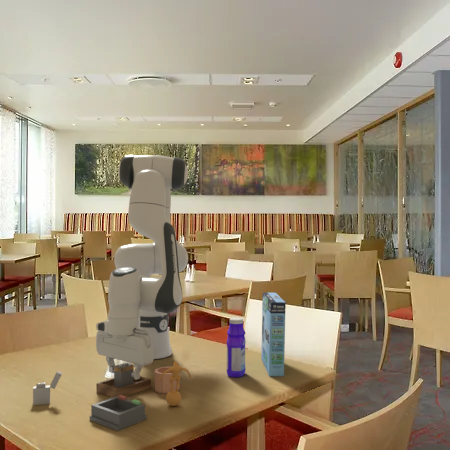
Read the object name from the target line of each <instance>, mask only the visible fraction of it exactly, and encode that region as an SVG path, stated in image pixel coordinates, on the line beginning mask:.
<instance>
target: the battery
mask: <svg viewBox="0 0 450 450" xmlns="http://www.w3.org/2000/svg"><path fill="white" fill-rule="evenodd" d="M115 365H116V366H114V373H113V378H114V387H116V388H121V387H124V386H127V385H130V384H133V383H134V379H132V372H134V370H135V367H134V364H133V363H130V362H126V361H125V362H123V363H120V364H115Z"/></svg>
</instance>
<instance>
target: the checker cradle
mask: <svg viewBox="0 0 450 450" xmlns="http://www.w3.org/2000/svg"><path fill="white" fill-rule="evenodd" d="M127 397H128V396H127ZM127 397H126V396H123V395H120V396H116V397H113V398H112V397H110V398H107V399H105V400H102V401H98V402H96V403H93V404H91V405H90V407H91V415H89V421H91V422H93V423H96V424H99V425H101V426H104V427H106V428H109V429H112V430H114V431H116V432H118V431H121V430H124V429H125V428H128V427H130V426H133V425H135V424H137V423H140V422H143V421H145V420H147V414H146V404H143V403H141V402H142V401H140V400H138V399H133V400H130V399H127Z"/></svg>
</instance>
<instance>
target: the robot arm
mask: <svg viewBox="0 0 450 450" xmlns="http://www.w3.org/2000/svg"><path fill="white" fill-rule="evenodd" d="M188 170H189V169H188V166H187V163H186V161H185V160H184V159H183V158H180V157H176V156H174V157H171V156H166V155H159V154H155V155H154V154H153V155H150V154H138V155H136V154H127V155H124V156H123V157H122V158H121V160H120V163H119V165H118V177H119V181H120V183H121V184H122V185H123V186H125V187H126V188H128V189H129V190H130V195H129V196H130V197H129V201H128V202H129V203H128V216H127V217H128V222H129V224H130V226H131V228H132V229H133V230H134V231H135V232H136V233H138V234H139V235H141V236H143V237H145V238H147V239H150V240H151V241H153V242H151V243H149V242H148V243H129V244H125V245H121V246H119V247H118V248H117V250H116V251H115V253H114V257H113V262H114V266H115V268H116V269H114V270H112V271H111V273H110V275H109V281H108V290H107V291H108V292H107V301H108V306H109V309H108V313H107V314H108V315H107V319H106V320H103V321H99V322H97V323H96V325H95V328H96V330H97V332H96V336H95V337H96V338H95V342H96V343H95V348H96V349H95V350H96V352H97V354H98V355H99V356H103V357H104V356H105V361H106V364H107V365H108V371H109V373H112V374H114V366H116V365H117V364H116V363H115V360H119V361H123V362H125V363H126V362H128V363H130V364H134V372H132V379H135V380H137V379H139V378H140V376H141V372H142V369H143V367H146V366H149V365H151V364H152V363H153V361H154V360H158V359H159V360H160V359H164V358H167V357H170V356H171V355H172V354H173V352H172V346H171V341H170V333H169V322H170V321H169V320H170V316H169V315H170V314H172V313H173V312H175V311H176V310H177V309H178V308H179V307H180V306H181V304H182V302H183V287H182V283H181V278H180V273H181V272H183V271H184V270H185V269H186V267H187V265H188V263H189V254H188V251H187V249H186V248H185V246H183V245H182V244H181V243H180V242H179V241H178V240H177V237H176V231H175V228H174V226H173V224H171V205H172V203H171V202H172V201H171V199H172V198H171V197H172V196H171V195H172V193H171V190H172V192H173V193H174V192H176V191H178V190H182V188H184V187H185V184H186V182H187V181H188V178H189V177H188V176H189V171H188ZM153 275H161V277H151V276H153Z"/></svg>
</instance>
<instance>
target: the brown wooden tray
mask: <svg viewBox="0 0 450 450" xmlns="http://www.w3.org/2000/svg"><path fill="white" fill-rule="evenodd" d="M95 384H96V392H95V393H98V394H100V395H102V396H103V395H104V396H107V397H110V398H113V397H116V396H120V395H123V396H126V397H129V396H132V395H135V394H137V393H138V394H139V393H140V392H143V391H146V390H148V389H151V388H152V379H151V378H149V377H145V376H142V375H140V378H139V379H137V380H135V379H134V383H133V384H130V385H127V386H124V387H121V388H116V387H114V377H112V378H108V379H106V380H104V381H99V382H97V383H95Z"/></svg>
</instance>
